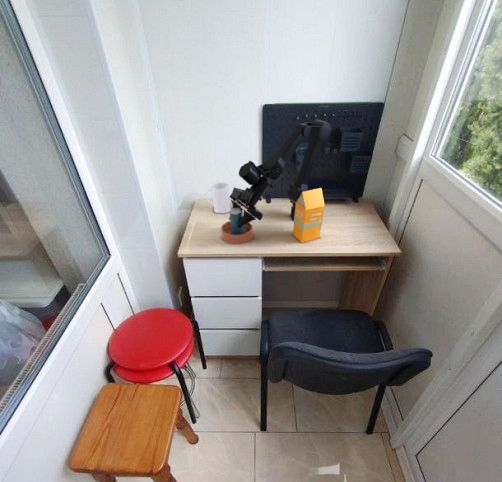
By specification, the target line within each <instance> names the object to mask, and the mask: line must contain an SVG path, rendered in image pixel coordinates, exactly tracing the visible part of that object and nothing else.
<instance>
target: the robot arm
mask: <svg viewBox="0 0 502 482" xmlns="http://www.w3.org/2000/svg"><path fill="white" fill-rule="evenodd" d="M331 133H332V127H331V124H330V123H329V122H327V121H324V120H321V119H314V120H313V121H310V122H304V123H298V124H296V127H295V129H294V131H293V132H292V133H291V134H290V136H289V137H288V138H287V139H286V140H285V142H284V143H283V144H282V145H281V147H279V149H278V150H277V151H276V153H274V154H272V155H271V156H269V157H268V158H267V159H266V160H265V161H264V162H263V163H261V164H258V165H256V164H255V162H254V161H252V160H248V162H246V163H243V165H241V166H240V168H239V169H238V176H239V177H240V178H241V179H242V180H244V182H245V183H247V184H248V185H249V186H250V187H246V188H245V189H242V188H238V187H236V186H235V187H233V189H232V192H231V193H230V194H229V198H230V199H231V200H230V202H231V205H232V206H231V209H232V208H241V209H242V211H243V217H242V218H241V220H240V222H239V223H238V225H237V227H238V228H240V227H241V226H243V225H245V224H247V223H251V222H253V221H256V220H258V221H261V220H263V217H264V214H263V212H261V211H260V210H259V209H258V208H257V207H256V205H257V204H258V202H259V201H260V202H261V201H262V200H263V198H262V196H263V195H264V193H265V192H266V191H267V190H268V188H270V189H274V185H273V184H274V183H273V182H274V181H272V180H277V179H279V178H280V176H281V174H282V173H283V172H284V170H285V165H286V163H287V162H288V160H289V159H290V158H291V156H292V155H293V154H294V153H295V152H296V150H297V149H298V148H299V147H300V145H301V144H302V143H303V142H304V140H305V139H306V138H307V143H308V144H307V148H306V151H305V153H304V157H303V160H302V163H301V165H300V166H301V167H300V169H299V172H298V175H297V178H296V180H295V182H293V183H290V185H289V188H288V190H287V198H288V200H289V202H290V203H291V204H292V206H290V218H291V220H292V221H294V216H295V205H296V201H297V200H298V198H299V197H300V195H301V194H302V192H304V191H309V184H308V183H309V181H310V178H311V175H312V172H313V169H314V168H315V167H314V166H315V165H316V161H317V158H318V156H319V152H320V149H321V148H322V147H323V146H324V145H325V144H326V143H327V141H328V139H329V137H330V135H331ZM243 207H244V208H245V209H246V210H245V209H244V208H243ZM228 220H229V221H230V216H229V217H228Z"/></svg>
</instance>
